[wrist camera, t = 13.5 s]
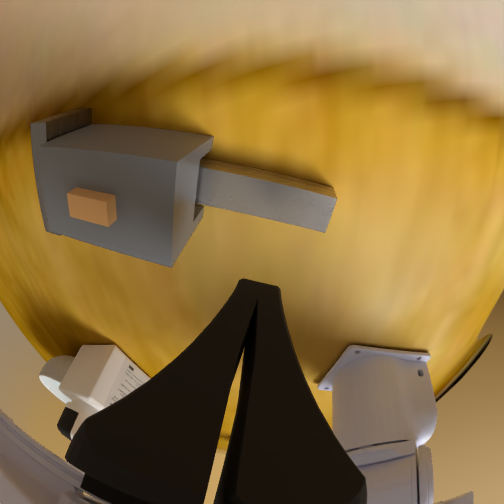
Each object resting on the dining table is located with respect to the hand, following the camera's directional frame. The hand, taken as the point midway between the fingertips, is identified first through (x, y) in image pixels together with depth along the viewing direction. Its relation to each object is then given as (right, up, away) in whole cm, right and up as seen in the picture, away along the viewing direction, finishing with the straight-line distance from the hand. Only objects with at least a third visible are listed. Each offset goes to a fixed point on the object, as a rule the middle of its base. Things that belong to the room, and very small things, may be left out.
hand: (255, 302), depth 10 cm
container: (-18, -12, +20) cm, 30 cm away
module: (-6, +7, +5) cm, 11 cm away
